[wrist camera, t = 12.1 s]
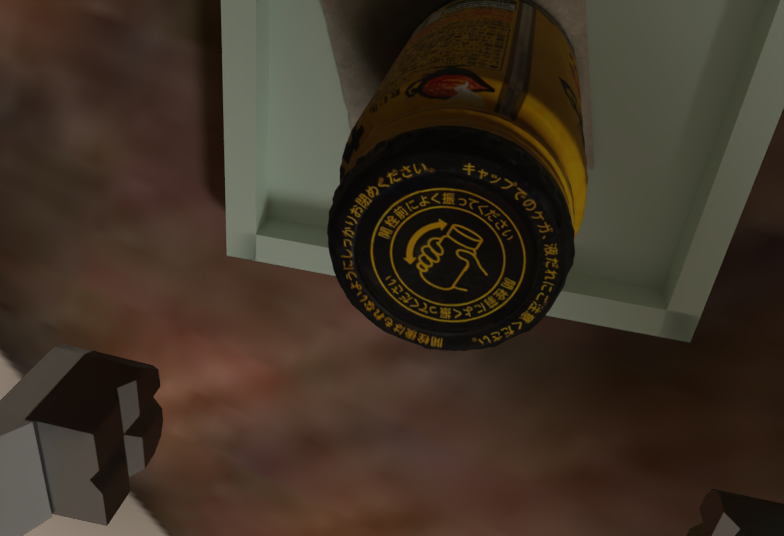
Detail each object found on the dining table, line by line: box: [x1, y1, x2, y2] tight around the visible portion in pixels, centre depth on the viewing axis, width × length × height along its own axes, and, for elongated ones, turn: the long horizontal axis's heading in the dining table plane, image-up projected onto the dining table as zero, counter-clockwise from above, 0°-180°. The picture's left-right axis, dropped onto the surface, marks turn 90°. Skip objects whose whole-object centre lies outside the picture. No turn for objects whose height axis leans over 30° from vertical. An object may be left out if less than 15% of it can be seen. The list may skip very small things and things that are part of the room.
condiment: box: [321, 0, 594, 351], centre depth 21 cm, size 7×8×12 cm
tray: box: [221, 0, 784, 342], centre depth 25 cm, size 16×18×2 cm
